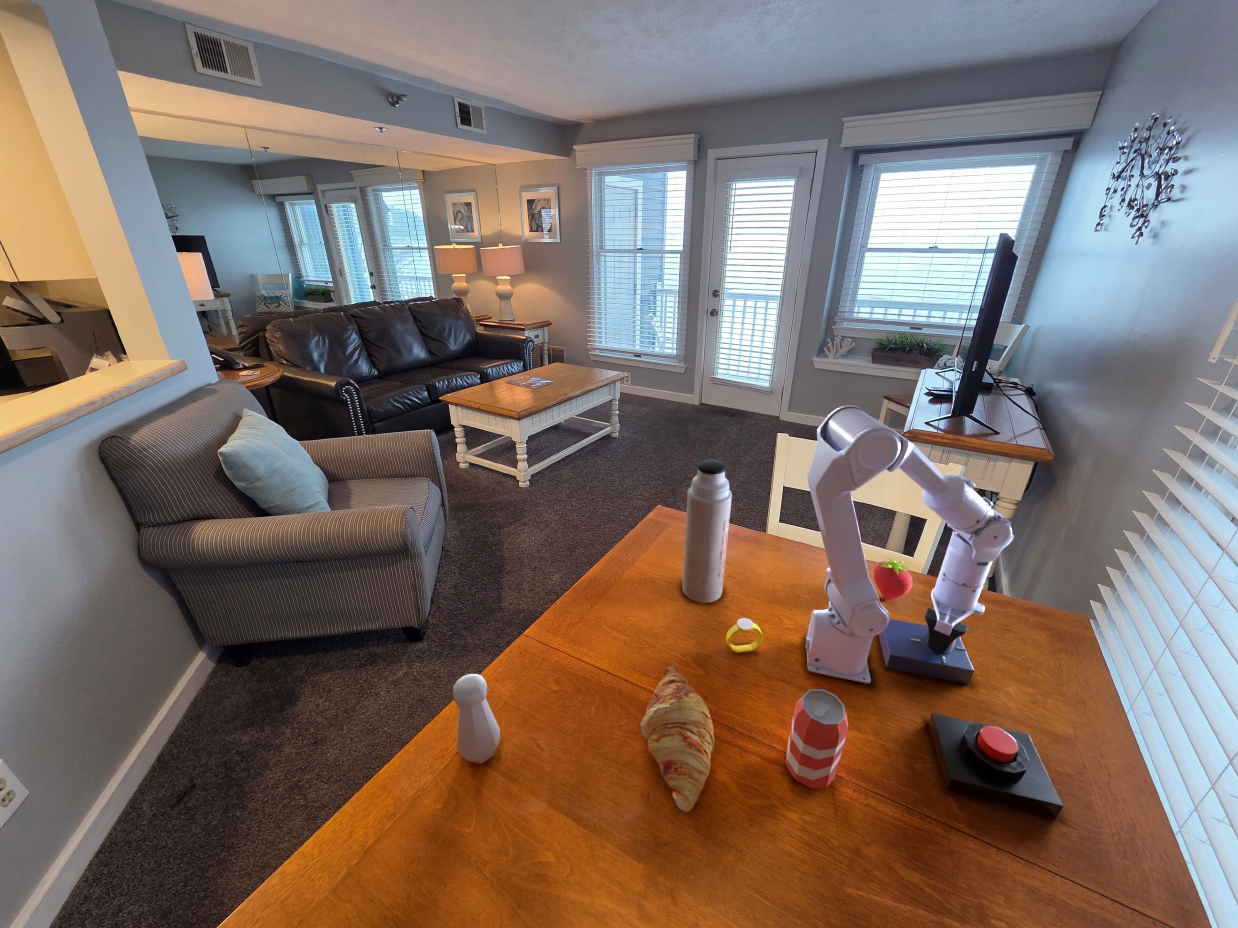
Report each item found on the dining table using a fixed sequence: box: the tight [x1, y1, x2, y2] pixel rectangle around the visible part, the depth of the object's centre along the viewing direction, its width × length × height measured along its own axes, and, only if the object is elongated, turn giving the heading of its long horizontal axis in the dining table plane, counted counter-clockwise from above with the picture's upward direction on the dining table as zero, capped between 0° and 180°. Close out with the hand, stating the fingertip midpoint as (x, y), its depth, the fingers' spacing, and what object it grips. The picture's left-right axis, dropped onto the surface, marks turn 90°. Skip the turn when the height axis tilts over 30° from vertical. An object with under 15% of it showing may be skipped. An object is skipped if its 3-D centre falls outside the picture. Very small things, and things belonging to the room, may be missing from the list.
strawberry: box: [872, 556, 913, 601], centre depth 96 cm, size 6×8×10 cm
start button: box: [977, 726, 1018, 763], centre depth 66 cm, size 4×4×2 cm
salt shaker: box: [452, 673, 501, 765], centre depth 67 cm, size 6×6×13 cm
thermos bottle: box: [681, 459, 733, 604], centre depth 95 cm, size 8×8×28 cm
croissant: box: [639, 666, 715, 813], centre depth 70 cm, size 21×10×8 cm, turn 1°
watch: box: [725, 617, 764, 654], centre depth 85 cm, size 6×3×6 cm, turn 95°
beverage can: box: [785, 688, 849, 789], centre depth 65 cm, size 6×6×12 cm
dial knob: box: [925, 629, 956, 653], centre depth 82 cm, size 4×4×4 cm
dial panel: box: [878, 618, 975, 685], centre depth 84 cm, size 12×9×3 cm
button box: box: [927, 712, 1064, 818], centre depth 67 cm, size 12×10×4 cm
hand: (938, 641), depth 83 cm, fingers closed on dial knob, 4 cm apart
